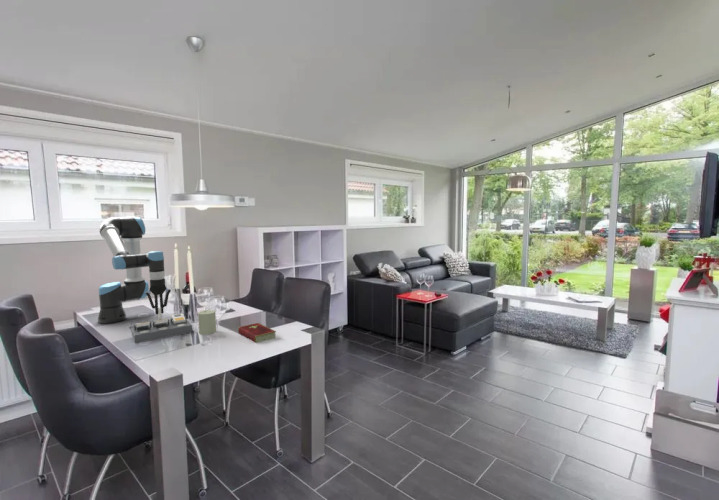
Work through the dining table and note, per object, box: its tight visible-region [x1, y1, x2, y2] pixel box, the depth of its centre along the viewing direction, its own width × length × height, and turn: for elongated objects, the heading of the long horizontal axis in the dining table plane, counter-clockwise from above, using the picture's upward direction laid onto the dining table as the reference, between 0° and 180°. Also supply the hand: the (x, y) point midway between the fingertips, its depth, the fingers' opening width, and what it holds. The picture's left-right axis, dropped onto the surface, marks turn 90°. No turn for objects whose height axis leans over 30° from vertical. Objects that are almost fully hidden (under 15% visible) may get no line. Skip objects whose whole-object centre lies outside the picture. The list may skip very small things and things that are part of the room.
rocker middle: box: [153, 318, 169, 324], centre depth 209 cm, size 8×6×2 cm
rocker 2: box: [170, 313, 187, 324], centre depth 214 cm, size 8×6×2 cm
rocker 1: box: [135, 321, 151, 327], centre depth 203 cm, size 8×6×2 cm
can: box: [197, 309, 217, 336], centre depth 209 cm, size 9×9×12 cm
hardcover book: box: [237, 322, 277, 344], centre depth 202 cm, size 12×21×4 cm, turn 41°
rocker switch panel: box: [130, 315, 193, 344], centre depth 207 cm, size 16×28×7 cm, turn 126°
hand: (159, 319), depth 212 cm, fingers closed
